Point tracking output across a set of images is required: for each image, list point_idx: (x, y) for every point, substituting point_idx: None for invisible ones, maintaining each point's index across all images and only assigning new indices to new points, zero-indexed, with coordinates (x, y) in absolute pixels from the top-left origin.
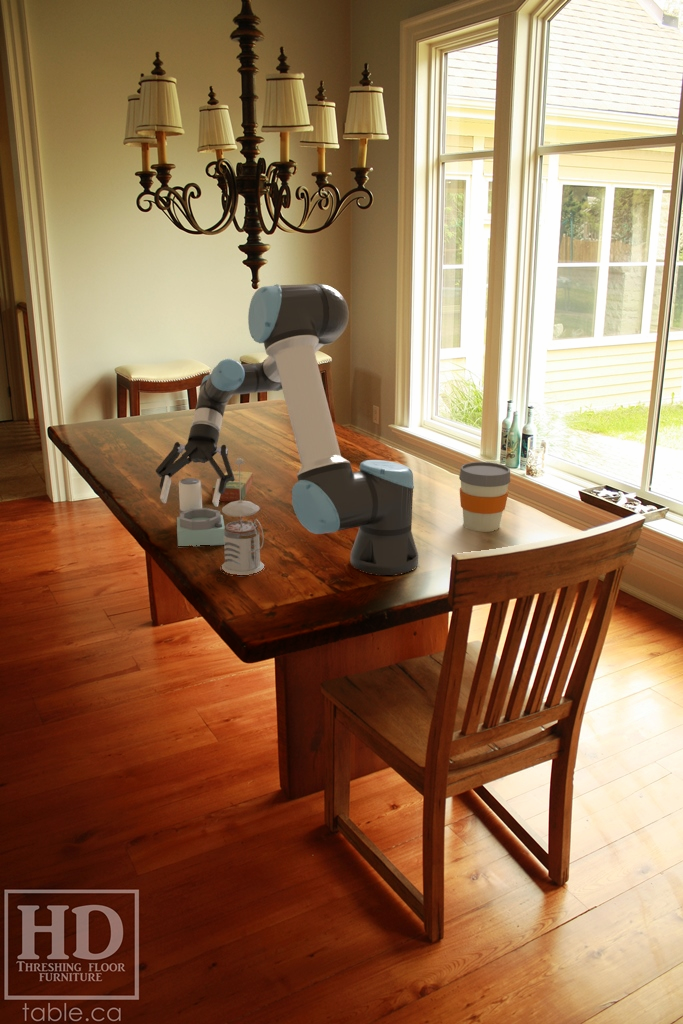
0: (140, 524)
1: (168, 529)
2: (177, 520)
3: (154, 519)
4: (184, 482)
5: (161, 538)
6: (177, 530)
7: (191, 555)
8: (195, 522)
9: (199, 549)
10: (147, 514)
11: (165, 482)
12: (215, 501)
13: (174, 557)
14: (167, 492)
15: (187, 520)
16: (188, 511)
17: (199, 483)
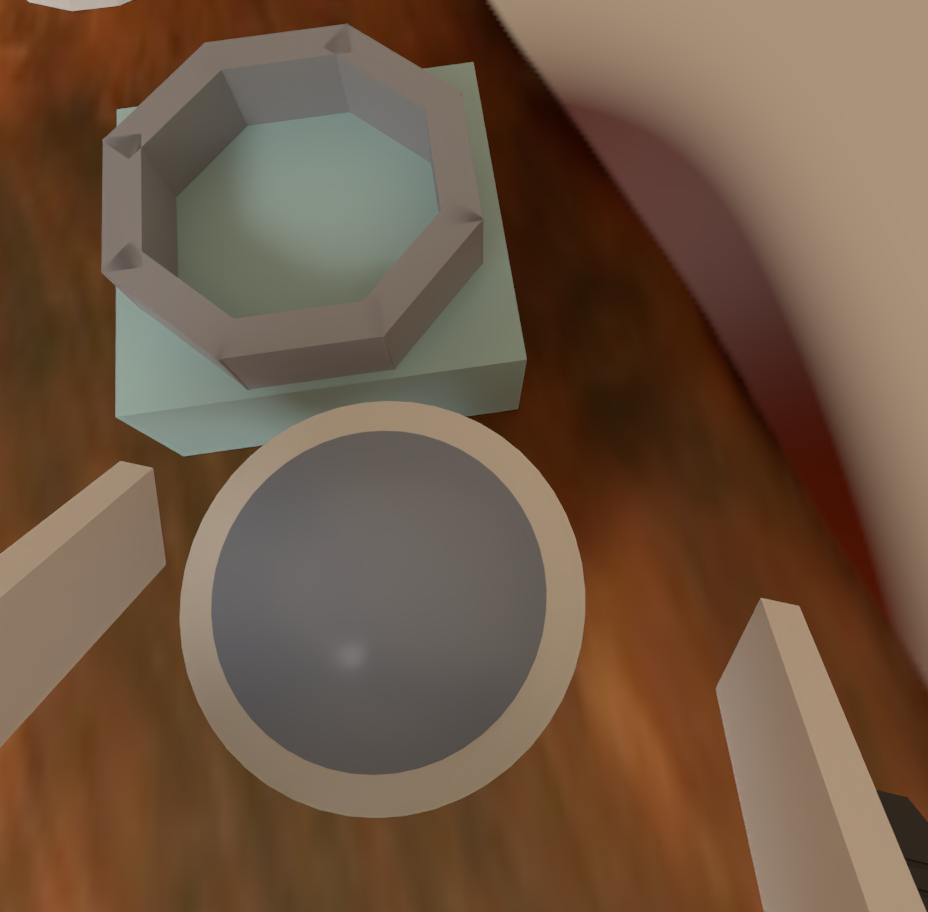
0: (861, 596)
1: (602, 476)
2: (508, 278)
3: None
4: (461, 479)
5: (614, 300)
6: (472, 75)
7: None
8: (320, 33)
9: None
10: None
11: (858, 822)
12: (115, 468)
13: (472, 25)
14: (753, 784)
15: (389, 55)
16: (404, 265)
17: (210, 516)
